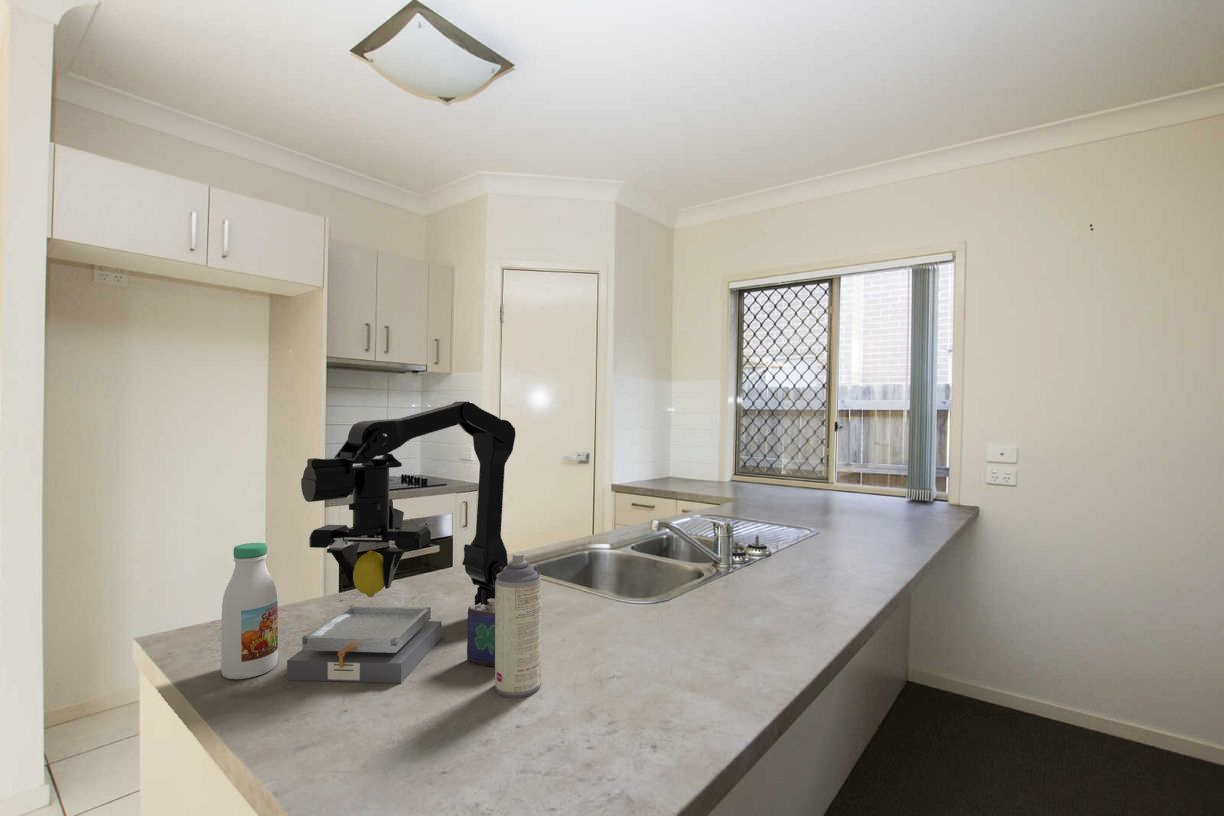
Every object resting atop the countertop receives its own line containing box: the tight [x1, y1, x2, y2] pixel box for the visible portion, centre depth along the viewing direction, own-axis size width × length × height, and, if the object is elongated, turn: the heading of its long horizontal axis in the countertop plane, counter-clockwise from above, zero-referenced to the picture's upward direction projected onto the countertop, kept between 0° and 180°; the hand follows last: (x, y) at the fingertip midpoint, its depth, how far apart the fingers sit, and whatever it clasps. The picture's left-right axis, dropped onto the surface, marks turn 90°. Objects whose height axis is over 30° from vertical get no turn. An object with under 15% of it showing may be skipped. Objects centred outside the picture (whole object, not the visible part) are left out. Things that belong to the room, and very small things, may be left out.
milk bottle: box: [220, 542, 279, 680], centre depth 95 cm, size 8×8×20 cm
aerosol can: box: [494, 552, 542, 699], centre depth 90 cm, size 7×7×20 cm
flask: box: [466, 598, 495, 668], centre depth 98 cm, size 9×3×11 cm, turn 74°
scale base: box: [286, 620, 443, 684], centre depth 100 cm, size 18×18×3 cm
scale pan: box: [301, 605, 432, 668], centre depth 99 cm, size 15×17×4 cm
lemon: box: [353, 549, 385, 598], centre depth 101 cm, size 6×6×8 cm
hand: (370, 587), depth 101 cm, fingers closed on lemon, 5 cm apart
